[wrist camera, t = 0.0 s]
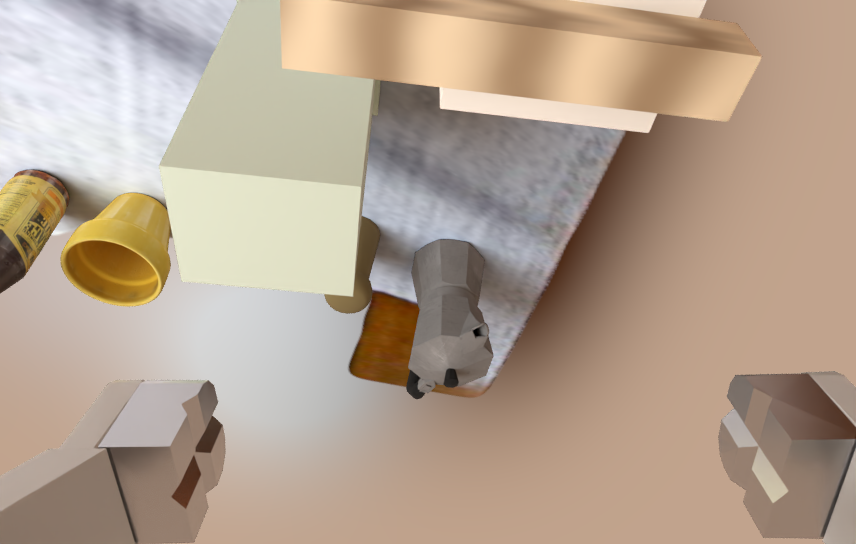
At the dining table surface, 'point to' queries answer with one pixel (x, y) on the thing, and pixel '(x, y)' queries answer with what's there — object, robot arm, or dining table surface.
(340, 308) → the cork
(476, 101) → the white pedestal
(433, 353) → the coffeepot
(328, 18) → the beech block
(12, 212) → the sauce bottle
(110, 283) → the plant pot
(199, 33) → the dining table surface
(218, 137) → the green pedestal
